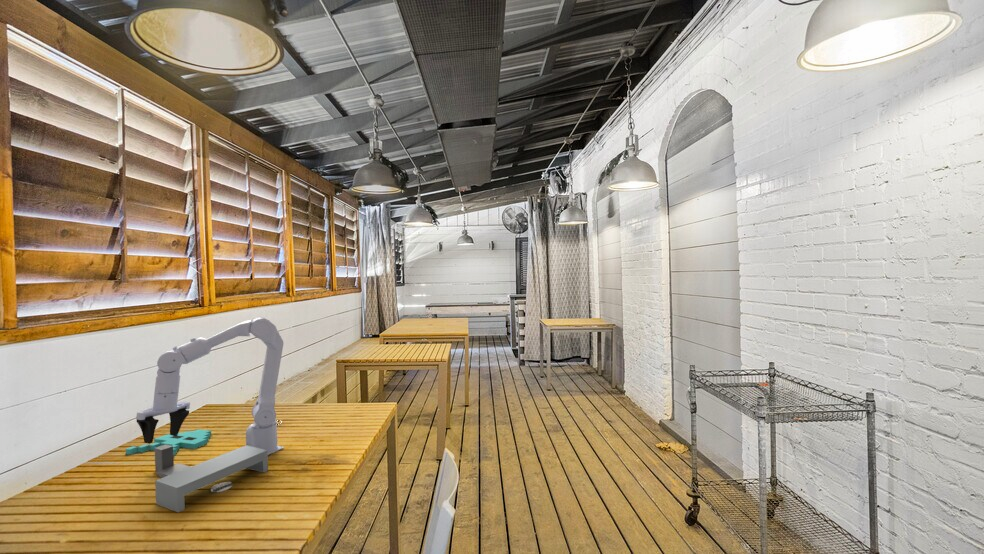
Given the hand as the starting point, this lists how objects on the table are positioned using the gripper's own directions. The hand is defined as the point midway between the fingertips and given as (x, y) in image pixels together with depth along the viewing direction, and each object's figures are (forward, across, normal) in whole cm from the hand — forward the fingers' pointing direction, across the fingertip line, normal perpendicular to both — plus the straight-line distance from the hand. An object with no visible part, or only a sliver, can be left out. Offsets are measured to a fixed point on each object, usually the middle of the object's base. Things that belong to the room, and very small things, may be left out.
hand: (161, 438), depth 124 cm
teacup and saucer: (+8, -42, -1) cm, 42 cm away
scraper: (+10, -2, +6) cm, 12 cm away
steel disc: (+9, +2, +25) cm, 27 cm away
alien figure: (+11, -21, -18) cm, 30 cm away
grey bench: (+9, +2, +23) cm, 25 cm away
